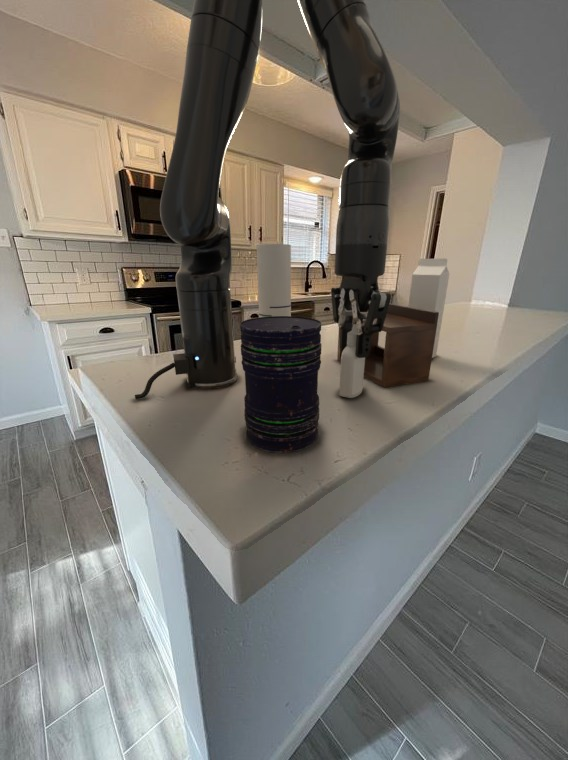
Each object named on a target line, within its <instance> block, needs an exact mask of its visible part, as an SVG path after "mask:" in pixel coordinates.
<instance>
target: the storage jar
mask: <svg viewBox="0 0 568 760" xmlns="http://www.w3.org/2000/svg"><path fill="white" fill-rule="evenodd" d="M239 325H240V326H239V327H240V329H239V330H240V332H241V335H240V342H241V344H240V355H241V365H242V370H243V371H244V383H245V395H244V400H243V401H244V402H243V403H244V408H243V409H244V413H243V414H244V415H243V416H244V422H245V428H246V431H245V432H246V439H247V441H248V442H249V443H250V445H251V446H253V447H255V448H256V449H259V450H261V451H264V452H269V453H275V454H288V453H294V452H295V453H296V452H299V451H302V450H304V449H307V448H309V447H310V446H312V445H314V443H316V441H317V439H318V438H319V437H318V436H319V429H318V427H319V420H320V396H319V393H318V384H319V382H318V380H319V371H320V369H321V365H322V360H321V356H322V343H321V342H322V335H321V331H322V322H321V320H319V319H316V318H312V317H305V316H293V315H291V316H272V317H260V318H259V317H253V318H248V319H245V320H243V321H241V322H240V324H239Z"/></svg>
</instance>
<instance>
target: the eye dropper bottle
mask: <svg viewBox="0 0 568 760" xmlns="http://www.w3.org/2000/svg"><path fill="white" fill-rule="evenodd" d="M357 334H358V333H357V324H353V328H352V331H350V332H348V333H347V346H346V347H345V348H344V350H343V352H342V356H341V363H340V371H339V372H340V374H339V391H338V394H339V396H340V397H343V398H348V399H353V398H356V397H359V396H360V395H361V394H362V392H363V390H364V380H365V379H364V378H365V376H364V366H365V357H364V358H358V357H356V355H355V352H356V337H357Z"/></svg>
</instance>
